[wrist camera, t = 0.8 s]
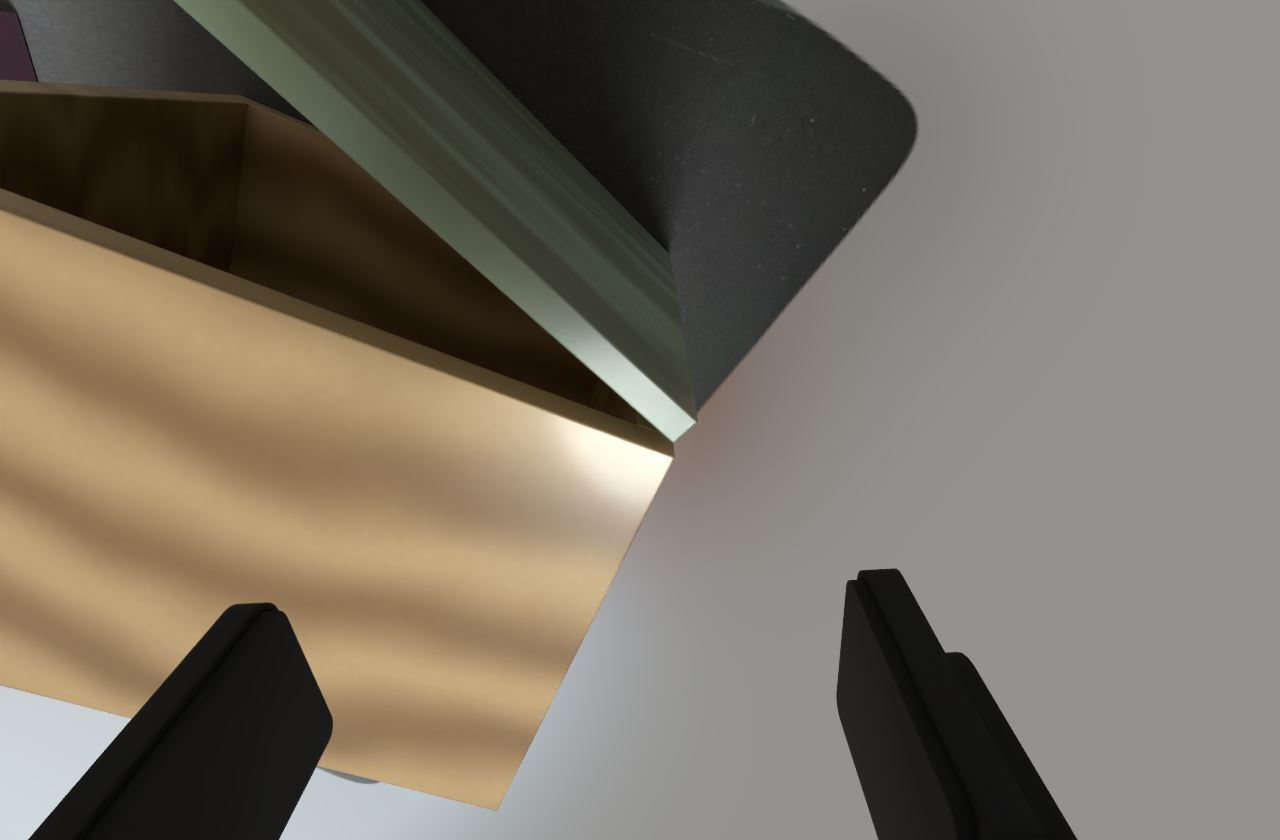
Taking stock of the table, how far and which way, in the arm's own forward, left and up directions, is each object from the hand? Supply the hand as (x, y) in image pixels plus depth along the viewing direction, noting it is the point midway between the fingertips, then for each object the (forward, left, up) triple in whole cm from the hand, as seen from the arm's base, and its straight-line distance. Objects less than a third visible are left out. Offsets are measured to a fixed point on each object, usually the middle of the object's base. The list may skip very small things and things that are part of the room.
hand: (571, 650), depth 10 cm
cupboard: (+9, -11, -32) cm, 35 cm away
